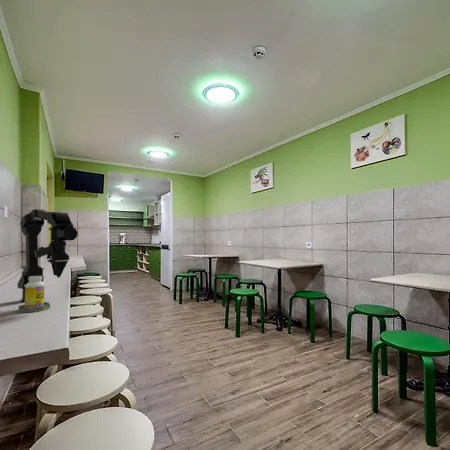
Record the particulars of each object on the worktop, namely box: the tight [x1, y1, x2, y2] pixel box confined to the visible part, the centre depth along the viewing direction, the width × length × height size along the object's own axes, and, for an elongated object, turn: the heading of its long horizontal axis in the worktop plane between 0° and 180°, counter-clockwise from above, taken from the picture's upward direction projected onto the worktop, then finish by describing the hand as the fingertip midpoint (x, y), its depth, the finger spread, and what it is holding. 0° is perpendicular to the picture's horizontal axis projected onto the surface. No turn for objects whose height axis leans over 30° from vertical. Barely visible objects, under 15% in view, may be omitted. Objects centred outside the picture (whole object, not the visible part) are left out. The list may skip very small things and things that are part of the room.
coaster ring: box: [17, 301, 51, 314], centre depth 112 cm, size 11×11×2 cm
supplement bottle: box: [23, 276, 46, 308], centre depth 113 cm, size 7×7×13 cm
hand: (56, 276), depth 119 cm, fingers open, 9 cm apart
